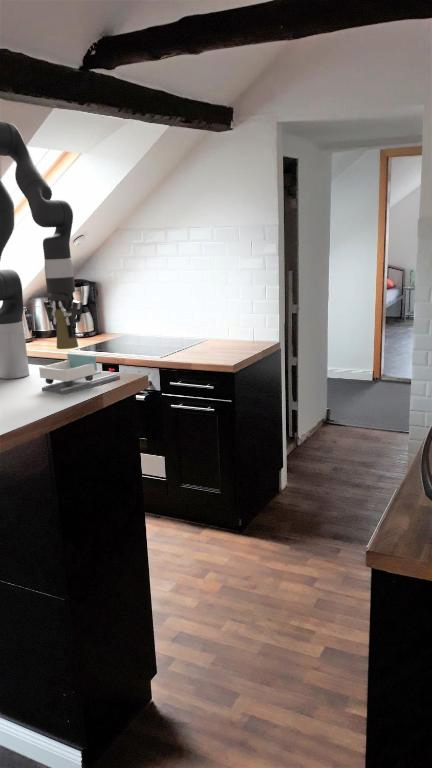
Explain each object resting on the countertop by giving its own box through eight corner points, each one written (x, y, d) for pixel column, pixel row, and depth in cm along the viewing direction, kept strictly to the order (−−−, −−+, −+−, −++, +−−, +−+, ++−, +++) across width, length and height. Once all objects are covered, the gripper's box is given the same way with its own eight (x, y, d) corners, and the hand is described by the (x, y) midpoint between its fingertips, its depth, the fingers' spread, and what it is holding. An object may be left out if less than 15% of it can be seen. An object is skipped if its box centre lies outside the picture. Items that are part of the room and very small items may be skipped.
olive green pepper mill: (73, 348, 166) (68, 309, 164) (52, 349, 167) (48, 309, 165) (81, 345, 172) (77, 306, 169) (62, 345, 173) (58, 307, 171)
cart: (41, 384, 170) (38, 360, 169) (71, 376, 179) (69, 353, 178) (67, 388, 164) (64, 363, 162) (97, 379, 173) (95, 356, 171)
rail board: (42, 390, 170) (41, 386, 170) (96, 375, 187) (96, 371, 186) (65, 394, 164) (65, 389, 164) (120, 378, 181) (119, 374, 181)
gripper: (87, 274, 164) (93, 337, 168) (53, 275, 172) (60, 334, 176) (66, 276, 158) (73, 341, 162) (31, 277, 166) (39, 338, 170)
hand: (66, 337), depth 169 cm, fingers closed on olive green pepper mill, 4 cm apart
